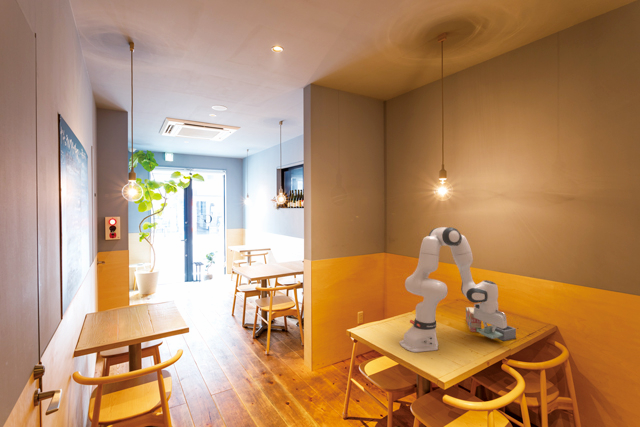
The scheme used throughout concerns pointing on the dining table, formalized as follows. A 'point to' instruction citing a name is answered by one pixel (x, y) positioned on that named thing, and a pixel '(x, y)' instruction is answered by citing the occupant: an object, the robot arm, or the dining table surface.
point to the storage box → (506, 333)
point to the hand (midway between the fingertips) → (489, 330)
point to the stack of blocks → (472, 320)
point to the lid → (489, 332)
